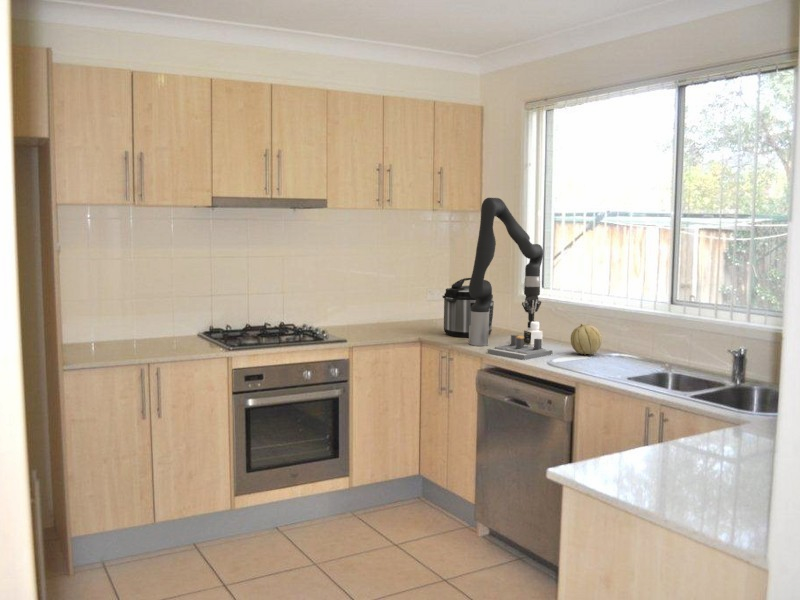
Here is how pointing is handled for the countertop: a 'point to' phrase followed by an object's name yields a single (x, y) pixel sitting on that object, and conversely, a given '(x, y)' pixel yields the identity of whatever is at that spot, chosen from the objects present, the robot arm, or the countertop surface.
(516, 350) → the panel
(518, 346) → the post
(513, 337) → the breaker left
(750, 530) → the countertop surface
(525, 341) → the medicine bottle
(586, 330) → the cantaloupe
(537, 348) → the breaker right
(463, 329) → the pressure cooker
